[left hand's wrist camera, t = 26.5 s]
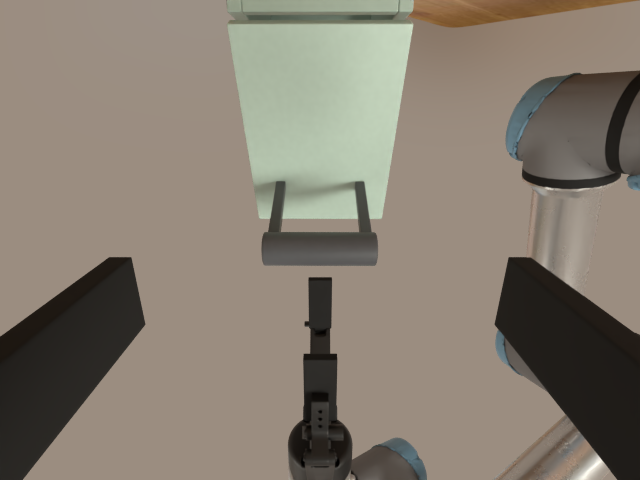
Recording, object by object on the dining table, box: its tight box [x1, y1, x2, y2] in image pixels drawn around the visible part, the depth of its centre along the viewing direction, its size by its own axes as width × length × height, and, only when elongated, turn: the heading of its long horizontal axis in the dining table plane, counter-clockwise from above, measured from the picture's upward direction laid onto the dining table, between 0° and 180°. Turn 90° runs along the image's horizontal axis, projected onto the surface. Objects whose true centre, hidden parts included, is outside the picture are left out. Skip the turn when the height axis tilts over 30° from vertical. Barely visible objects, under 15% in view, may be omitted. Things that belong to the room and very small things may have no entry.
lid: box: [227, 20, 413, 266], centre depth 22 cm, size 14×10×8 cm
